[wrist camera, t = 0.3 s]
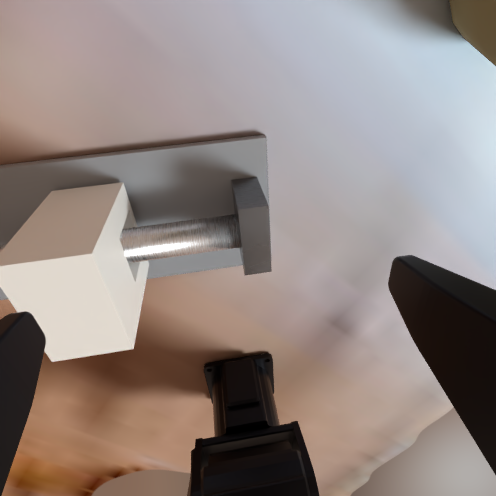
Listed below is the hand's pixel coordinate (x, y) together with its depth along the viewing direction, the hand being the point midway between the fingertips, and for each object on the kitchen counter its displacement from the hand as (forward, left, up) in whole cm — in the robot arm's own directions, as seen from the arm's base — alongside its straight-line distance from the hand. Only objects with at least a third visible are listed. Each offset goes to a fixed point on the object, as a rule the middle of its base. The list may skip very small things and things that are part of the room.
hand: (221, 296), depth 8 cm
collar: (-5, +7, -13) cm, 16 cm away
